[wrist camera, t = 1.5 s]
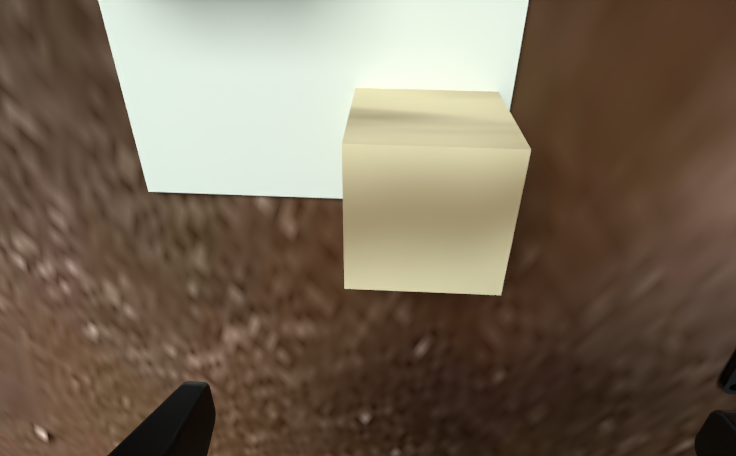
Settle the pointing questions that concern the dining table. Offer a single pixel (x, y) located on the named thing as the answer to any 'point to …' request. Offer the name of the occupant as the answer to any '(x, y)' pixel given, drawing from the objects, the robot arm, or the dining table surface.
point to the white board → (288, 80)
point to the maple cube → (430, 190)
